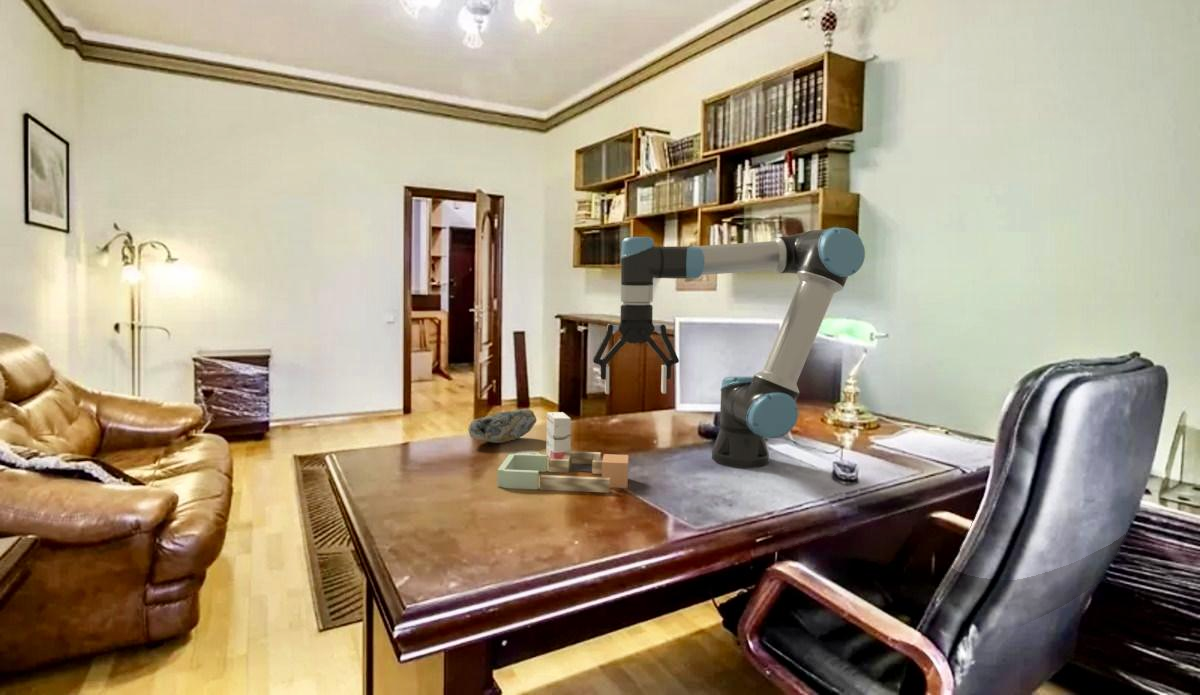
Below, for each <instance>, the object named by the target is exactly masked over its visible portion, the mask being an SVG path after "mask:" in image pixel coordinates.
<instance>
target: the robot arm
mask: <svg viewBox="0 0 1200 695" xmlns="http://www.w3.org/2000/svg"><path fill="white" fill-rule="evenodd" d="M620 251H621V252H620V253H621V254H620V261H621V262H620V265H621V268H620V270H621V271H620V273H621V274H620V276H621V277H620V282H621V283H620V302H621V303H622V304H621V305H620V322H619V325H617V324H616V325H615V324H611V323H607V325H606V333H605V335H604V337H603V338H602V340H601V343H600V345H599V347H598V349H597V351H596V352H595V354H594V356H593V358H592V362H593V363H594V364H595V365H599V366H600V375H599V376H600V379H601V380H604V393H605V394H606V395H610V366H609V364H608V363H609V362H610V361H611V360H612V359H613V358H614V356H615V355H616V354H617V353H618V352H619V351H620V350H621V348H622V347H623V346H624V345H625V344H626V343H629V344H636V343H638V344H645V343H647V344H648V345H649V346H650V347H651V348H652V350H653V351H654V352H655V353H656V355H658V357H659V358H660V359H661V361H662V362H663V363H664V364H661V373H660V374H661V378H660V379H661V380H660V381H661V383H660V384H661V385H660V392H661V393H662V394H663V395H664V394H665V395H666V394H667V380H670V379H671V378H672V376H671V375H672V366H673V365H676V364H678V363H679V362H680V360H679V358H678V355H677V353H676V351H675V349H674V347H673V344H672V342H671V340H670V339H669V336H668V334H667V326H666V325H665V324H663V323H660V324H657V325H656V324H655V325H654V324H653V323H654V322H653V315H654V314H653V313H654V312H653V308H654V307H653V305H652V304H651V303H652V302H653V299H654V295H653V294H654V279H672V280H673V279H675V280H676V279H678V280H679V279H681V280H682V279H687V280H689V279H699V278H700V277H701V276H707V275H722V274H735V273H736V274H737V273H748V272H749V273H750V272H751V273H752V272H763V271H764V272H766V271H773V272H774V274H777V275H778V274H780V275H781V274H796V275H797V278H798V280H799V283H798V286H797V288H796V291H795V292H794V294H793V298H792V300H791V302H790V305H789V306H788V310H787V312H786V314H785V317H784V319H783V322H782V324H781V326H780V329H779V331H778V333H777V336H776V338H775V341H774V343H773V345H772V349H771V351H770V352H769V355H768V357H767V360H766V362H765V364H764V366H763V369H762V370H761V371H759V372H757V373H755V374H754V375H753V376H742V375H741V376H737V375H736V376H725V377H724V378H723V379H722V381H721V387H720V408H719V410H720V411H719V416H720V417H719V431H718V434H717V436H716V440H715V441H714V444H713V447H712V450H711V451H712V452H711V458H712V460H713V461H714V462H716V463H718V464H720V465H723V466H728V467H734V468H746V469H749V468H759V467H760V468H761V467H765V466H767V465H768V464H769V462H770V453H769V448H768V446H767V442H766V439H765V438H767V439H778V438H781V437H783V436H785V435H787V434H789V433H790V432H791V431H792V430H793V429H794V427H795V426H796V423H797V421H798V420H799V419H798V418H799V409H798V405H797V404H798V403H797V400H798V397H799V395H800V390H799V387H798V385H797V383H798V381H799V377H800V376H801V373H802V371H803V369H804V367H805V363H806V361H807V358H808V356H809V354H810V352H811V350H812V346H813V344H814V342H815V340H816V338H817V337H816V336H817V335H818V333H819V330H820V327H821V325H822V322H823V320H824V318H825V316H826V313H827V311H828V308H829V307H830V304H831V301H832V299H833V296H834V295H835V294H836V293H838V292H840V291H842V290H844V287H845V284H846V283H847V280H848V277H850V276H851V277H852V276H853V275H854V274H856V273H857V272H858V271H859V270H860V269H861V268H862V266H863V264H864V261H865V256H866V249H865V246H864V244H863V240H862V239H861V237H860V236H859V235H858V234H857V233H856V232H855V231H853V230H852V229H849V228H846V227H838V226H837V227H836V226H833V227H829V228H826V229H825V228H824V229H823V228H822V229H815V230H808V231H805V232H801V233H796V234H792V235H786V236H785V235H784V236H776V237H774V238H773V239H772V240H770V241H768V240H767V241H757V242H743V243H742V242H740V243H738V242H737V243H725V244H711V245H710V244H708V245H697V246H696V245H695V246H694V245H693V246H692V245H691V246H690V245H687V246H680V245H679V246H677V245H676V246H675V245H674V246H672V245H671V246H660V245H655V241H654V238H652V237H650V236H628V237H625V238H624V239H623V240H622V242H621V250H620ZM617 331H619V333H620V334H621V336H620V337H619V338H618V340H617V342H616V343H614V345H613V346H612V347H611V348H610V350H609V351H608V352H607V353H606V354H605V355H604V357H602V356H603V354H604V352H605V350H606V348H607V346H608V344H609V342H610V340H611V338H612V336H613V335H615V334H616V332H617ZM655 331H656V333H657V334H659V335H660V338H661V340H662V342H663V344H664V346H665V348H666V350H667V352H668V355H669V357H670V358H668V357H667V356H666V354H665V353H664V351H662V350H661V348H660V347H659V346H658V345H657V343H656V341H655V340H654V339H653V338H652V337H651V335H652V334H653V333H654V332H655ZM601 358H602V359H601Z"/></svg>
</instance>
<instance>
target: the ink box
mask: <svg viewBox="0 0 1200 695" xmlns="http://www.w3.org/2000/svg"><path fill="white" fill-rule="evenodd" d="M571 432H572V418H571V417H570V416H568V415H567V414H566V413H565V412H563V411H561V412H560V411H550V412H547V413H546V445H545V446H546V447H545V449H546V451H545V453H546V454H545V455H547V457H548V458H549V459H563V458H564V456H565V454H566V451H572V448H571V446H572V445H571V444H572V441H571V440H572V439H571V438H572V437H571V436H572V433H571Z"/></svg>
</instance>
